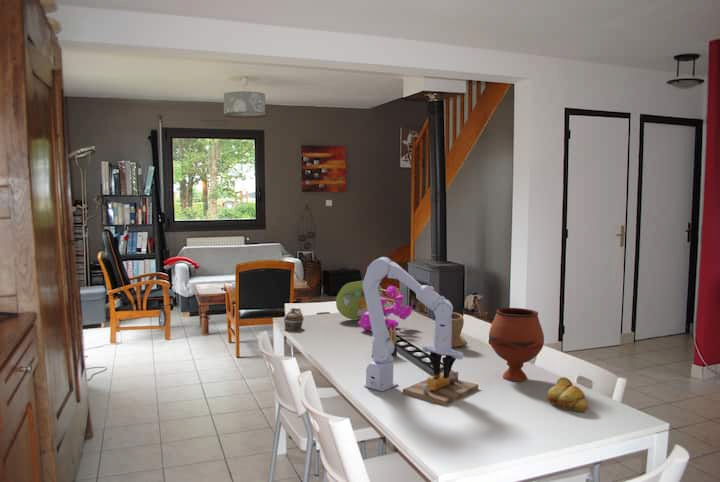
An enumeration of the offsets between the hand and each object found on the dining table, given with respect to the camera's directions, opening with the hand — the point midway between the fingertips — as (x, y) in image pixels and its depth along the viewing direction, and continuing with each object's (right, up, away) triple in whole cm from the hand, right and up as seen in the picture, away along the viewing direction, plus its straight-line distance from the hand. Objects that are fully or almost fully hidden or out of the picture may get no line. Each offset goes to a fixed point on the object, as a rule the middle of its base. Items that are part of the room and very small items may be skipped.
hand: (441, 376), depth 188 cm
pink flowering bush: (-20, +2, +99) cm, 101 cm away
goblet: (+29, -5, +17) cm, 34 cm away
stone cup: (+14, -2, +60) cm, 62 cm away
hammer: (0, -3, 0) cm, 3 cm away
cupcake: (-60, +2, +88) cm, 107 cm away
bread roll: (+38, -7, -11) cm, 40 cm away
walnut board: (0, -5, 0) cm, 5 cm away
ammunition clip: (-17, -2, +42) cm, 46 cm away
